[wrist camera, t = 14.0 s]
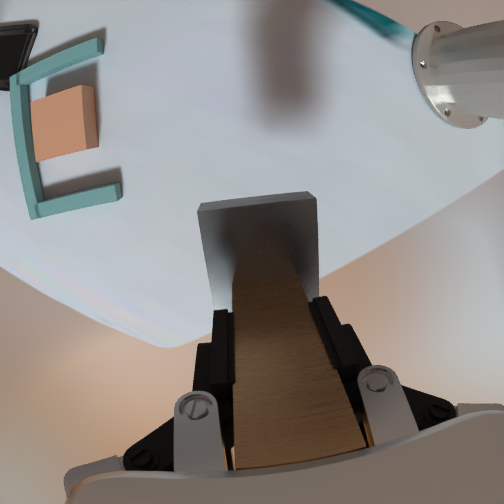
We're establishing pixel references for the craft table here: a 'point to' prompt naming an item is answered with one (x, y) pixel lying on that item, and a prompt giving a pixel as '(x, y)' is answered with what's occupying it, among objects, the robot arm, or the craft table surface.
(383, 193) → the craft table surface
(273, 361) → the pusher
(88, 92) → the tile
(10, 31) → the phone
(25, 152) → the frame
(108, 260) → the craft table surface
